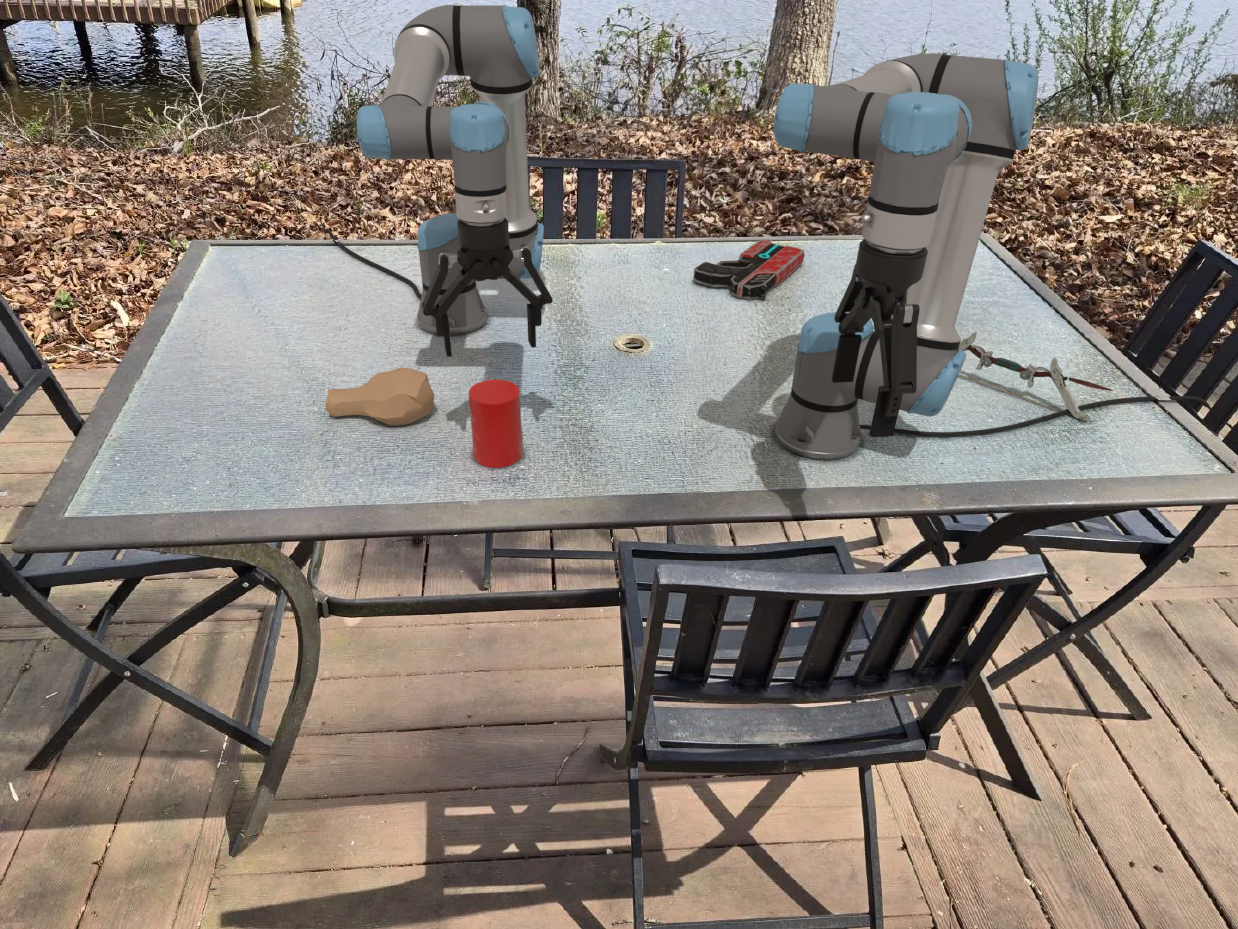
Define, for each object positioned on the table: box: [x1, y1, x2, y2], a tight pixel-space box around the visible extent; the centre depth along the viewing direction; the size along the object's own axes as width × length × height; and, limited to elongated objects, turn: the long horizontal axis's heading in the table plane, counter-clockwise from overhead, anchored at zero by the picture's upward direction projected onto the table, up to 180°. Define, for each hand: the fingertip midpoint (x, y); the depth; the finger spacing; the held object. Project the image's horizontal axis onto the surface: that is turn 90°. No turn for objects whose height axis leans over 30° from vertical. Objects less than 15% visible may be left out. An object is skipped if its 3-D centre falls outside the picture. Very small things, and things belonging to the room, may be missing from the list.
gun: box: [692, 239, 806, 301], centre depth 223 cm, size 4×31×19 cm
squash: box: [325, 366, 435, 427], centre depth 160 cm, size 11×20×9 cm, turn 90°
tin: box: [468, 379, 523, 469], centre depth 149 cm, size 8×8×12 cm
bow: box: [958, 331, 1114, 422], centre depth 173 cm, size 39×2×10 cm, turn 47°
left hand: (490, 348), depth 141 cm, fingers open, 13 cm apart
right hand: (860, 406), depth 110 cm, fingers open, 13 cm apart
